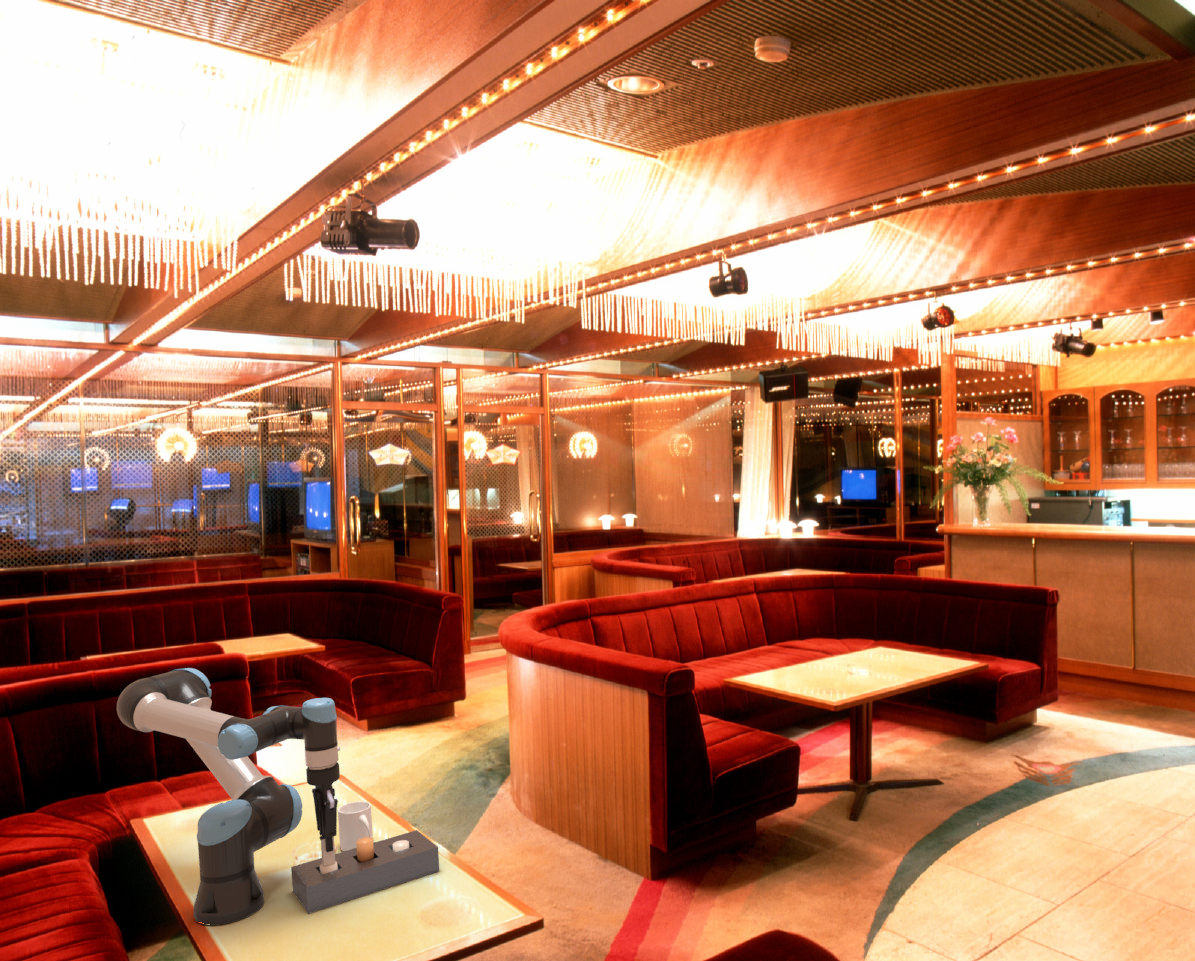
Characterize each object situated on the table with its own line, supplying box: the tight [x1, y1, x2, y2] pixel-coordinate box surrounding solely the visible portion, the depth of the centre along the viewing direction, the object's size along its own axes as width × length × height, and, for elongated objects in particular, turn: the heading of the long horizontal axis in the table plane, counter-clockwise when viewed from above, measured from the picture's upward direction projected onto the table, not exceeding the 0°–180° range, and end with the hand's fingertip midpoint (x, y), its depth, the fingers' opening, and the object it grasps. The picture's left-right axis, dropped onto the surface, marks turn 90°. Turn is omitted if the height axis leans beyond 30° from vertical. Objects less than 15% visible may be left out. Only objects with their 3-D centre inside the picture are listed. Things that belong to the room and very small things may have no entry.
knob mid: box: [356, 837, 374, 863], centre depth 208 cm, size 4×4×5 cm
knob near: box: [320, 861, 338, 875], centre depth 203 cm, size 4×4×5 cm
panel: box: [290, 830, 440, 915], centre depth 208 cm, size 32×14×6 cm, turn 124°
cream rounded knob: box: [393, 840, 409, 852], centre depth 213 cm, size 4×4×5 cm
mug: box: [337, 800, 374, 852], centre depth 228 cm, size 9×12×11 cm
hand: (328, 863), depth 203 cm, fingers closed
